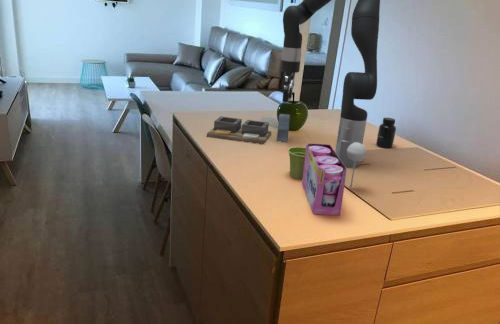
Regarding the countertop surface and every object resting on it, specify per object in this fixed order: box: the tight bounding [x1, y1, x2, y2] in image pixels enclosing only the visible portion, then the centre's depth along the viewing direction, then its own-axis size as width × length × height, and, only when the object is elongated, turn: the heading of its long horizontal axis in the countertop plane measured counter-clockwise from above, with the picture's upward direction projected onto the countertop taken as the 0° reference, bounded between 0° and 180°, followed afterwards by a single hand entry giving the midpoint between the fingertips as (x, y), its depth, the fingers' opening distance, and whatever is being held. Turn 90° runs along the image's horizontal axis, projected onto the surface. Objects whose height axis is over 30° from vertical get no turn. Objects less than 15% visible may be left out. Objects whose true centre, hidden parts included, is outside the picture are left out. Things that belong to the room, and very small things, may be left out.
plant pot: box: [287, 146, 306, 180], centre depth 148 cm, size 9×9×9 cm
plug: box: [276, 113, 291, 143], centre depth 185 cm, size 4×4×11 cm
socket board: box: [206, 116, 272, 145], centre depth 188 cm, size 16×24×6 cm, turn 77°
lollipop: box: [347, 143, 367, 189], centre depth 140 cm, size 6×6×15 cm
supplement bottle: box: [375, 117, 397, 149], centre depth 188 cm, size 7×7×12 cm
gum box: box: [301, 142, 347, 216], centre depth 130 cm, size 24×8×14 cm, turn 2°
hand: (286, 99), depth 181 cm, fingers open, 8 cm apart
